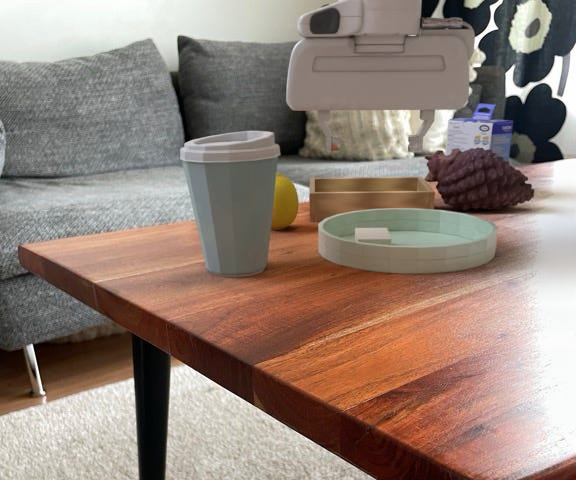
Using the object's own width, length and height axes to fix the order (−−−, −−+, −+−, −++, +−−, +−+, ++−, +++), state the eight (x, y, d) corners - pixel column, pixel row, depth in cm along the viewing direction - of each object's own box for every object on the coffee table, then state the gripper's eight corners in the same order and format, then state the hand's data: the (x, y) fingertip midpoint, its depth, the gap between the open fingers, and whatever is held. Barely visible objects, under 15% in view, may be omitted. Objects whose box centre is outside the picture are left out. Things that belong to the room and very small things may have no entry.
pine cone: (523, 201, 117) (550, 151, 108) (517, 242, 111) (545, 194, 103) (418, 170, 118) (437, 118, 109) (407, 210, 112) (426, 159, 104)
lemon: (307, 232, 99) (306, 172, 96) (278, 239, 96) (276, 177, 93) (279, 226, 103) (278, 168, 100) (250, 233, 100) (248, 173, 96)
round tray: (474, 233, 97) (477, 207, 96) (514, 278, 78) (518, 246, 76) (317, 234, 98) (317, 208, 97) (318, 279, 79) (318, 248, 77)
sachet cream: (386, 243, 90) (387, 227, 90) (391, 255, 85) (391, 238, 84) (354, 243, 91) (355, 227, 90) (357, 255, 85) (357, 239, 84)
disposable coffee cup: (216, 293, 75) (207, 142, 68) (172, 270, 83) (160, 133, 77) (301, 276, 80) (299, 133, 74) (251, 256, 88) (246, 126, 82)
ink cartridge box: (507, 197, 121) (517, 104, 115) (485, 201, 118) (494, 106, 112) (461, 189, 128) (469, 102, 122) (440, 193, 125) (446, 103, 119)
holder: (420, 206, 115) (421, 176, 113) (432, 224, 102) (435, 191, 101) (309, 207, 115) (309, 177, 114) (309, 225, 103) (309, 193, 101)
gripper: (470, 18, 80) (459, 148, 86) (286, 20, 81) (287, 149, 86) (482, 15, 74) (469, 155, 80) (284, 17, 75) (285, 156, 81)
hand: (373, 152), depth 83 cm, fingers open, 8 cm apart
